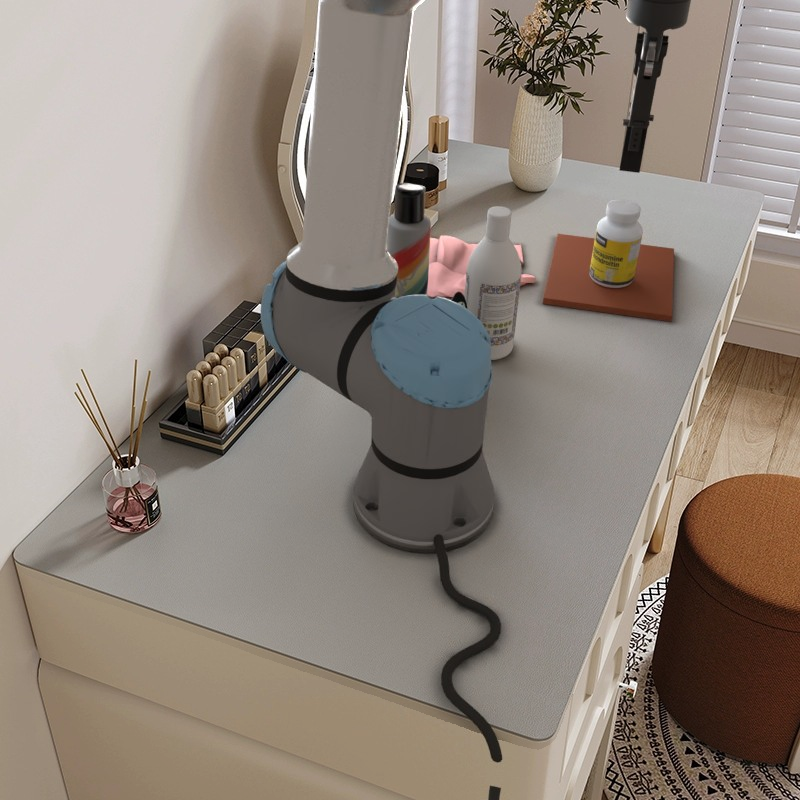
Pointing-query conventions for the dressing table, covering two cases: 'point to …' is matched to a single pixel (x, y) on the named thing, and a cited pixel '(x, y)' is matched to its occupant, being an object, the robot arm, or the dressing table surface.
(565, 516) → the dressing table surface
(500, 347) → the bath foam
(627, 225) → the pill bottle
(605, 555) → the dressing table surface
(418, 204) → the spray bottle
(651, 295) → the mat
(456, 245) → the cloth
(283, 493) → the dressing table surface
